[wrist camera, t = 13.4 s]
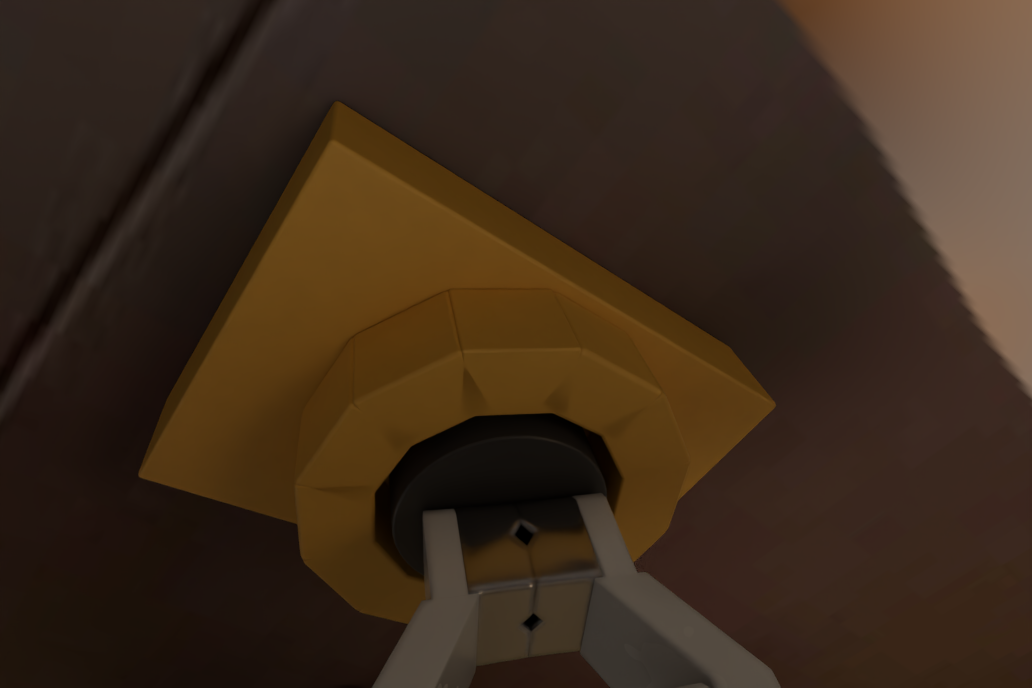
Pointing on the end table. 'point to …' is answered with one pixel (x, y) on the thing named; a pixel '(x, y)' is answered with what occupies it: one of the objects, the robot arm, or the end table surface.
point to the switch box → (428, 361)
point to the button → (488, 470)
